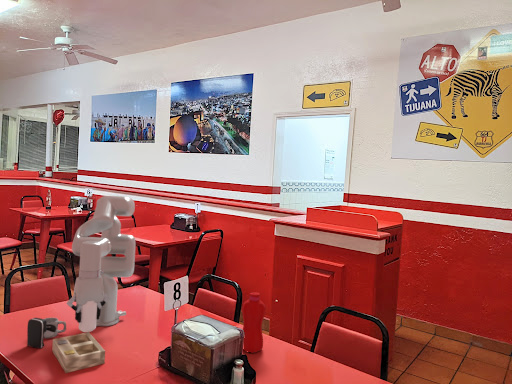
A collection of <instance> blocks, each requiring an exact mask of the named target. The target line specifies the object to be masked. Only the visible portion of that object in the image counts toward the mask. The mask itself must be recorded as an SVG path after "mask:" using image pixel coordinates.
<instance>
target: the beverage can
mask: <svg viewBox="0 0 512 384" xmlns="http://www.w3.org/2000/svg"><path fill="white" fill-rule="evenodd" d="M80 312H81V322H80V323H78V330H79V331H81V332H82V333H87V332H89V333H90V332H93V331H94V330H96V328H97V326H96V319H97V303H95V302H94V301H87V303H86V304H84V305H82V307H81V309H80Z"/></svg>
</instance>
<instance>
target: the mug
mask: <svg viewBox="0 0 512 384" xmlns="http://www.w3.org/2000/svg"><path fill="white" fill-rule="evenodd" d="M44 319H45V320H46V322H47V331H46V332H44V338H43V339H54V338H55V337H57V336H58V335H59V334H62V333H64V332H66V330H67V322H66V321H64V320H63V321H62V320H59V318H57V317H46V318H44ZM59 325H63V329H59Z"/></svg>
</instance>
